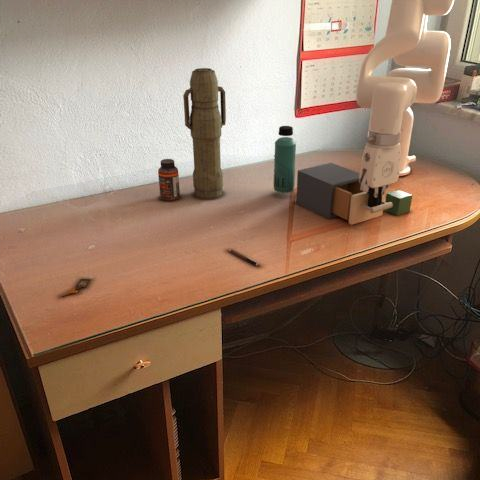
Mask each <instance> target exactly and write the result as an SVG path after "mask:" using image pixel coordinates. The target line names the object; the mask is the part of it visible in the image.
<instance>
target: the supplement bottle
mask: <svg viewBox="0 0 480 480" xmlns="http://www.w3.org/2000/svg"><path fill="white" fill-rule="evenodd" d="M157 175H158V188H159V197H160V199H161V200H163V201H165V202H172V201H176V200H179V199H180V197H181V191H180V177H179V169H178V167H176V164H175V159H172V158H163V159H160V167H159V168H158V170H157Z"/></svg>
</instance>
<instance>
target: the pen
mask: <svg viewBox="0 0 480 480" xmlns="http://www.w3.org/2000/svg"><path fill="white" fill-rule="evenodd" d="M228 251H229V252H230V253H231V254H233V255H235V256H237V257H239V258H240V259H242V260H244V261H246V262H248V263H249V264H252V265H254V266H256V267H260V264H259V262H258V261H257V260H255V259H254V258H251V257H249V256H245V255H244V254H241V253H240V252H238V251H236V250H234V249H228Z"/></svg>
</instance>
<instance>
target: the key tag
mask: <svg viewBox="0 0 480 480" xmlns="http://www.w3.org/2000/svg"><path fill="white" fill-rule="evenodd" d="M90 281H91V278H81V279H80V280H79V281H78V283H77V284H76V285H75V287H73V288H71V289H70V290H69V291H68V292H65V293H63V294H61V297H65V296H68V295H72V294H76V293H78V292H79V291H80V290H81V289H86V288H87V286H88V285H89V283H90Z"/></svg>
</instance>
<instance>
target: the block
mask: <svg viewBox="0 0 480 480" xmlns="http://www.w3.org/2000/svg"><path fill="white" fill-rule="evenodd" d="M412 199H413V194H411V193H409V192H406V191H404V190H400V189H396V190H394V191H393V190H392V191H390V192H387V193H386V192H385V199H384V202H387V203H388V202H392V204H393V206H392V208H388V209H385V210H384V212H387V213H390V214H392V215H394V216H397V217H399V216H401V215H404V214H407V213H408V214H409V213H410V212H411V208H412V207H411V206H412V201H413V200H412Z"/></svg>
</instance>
